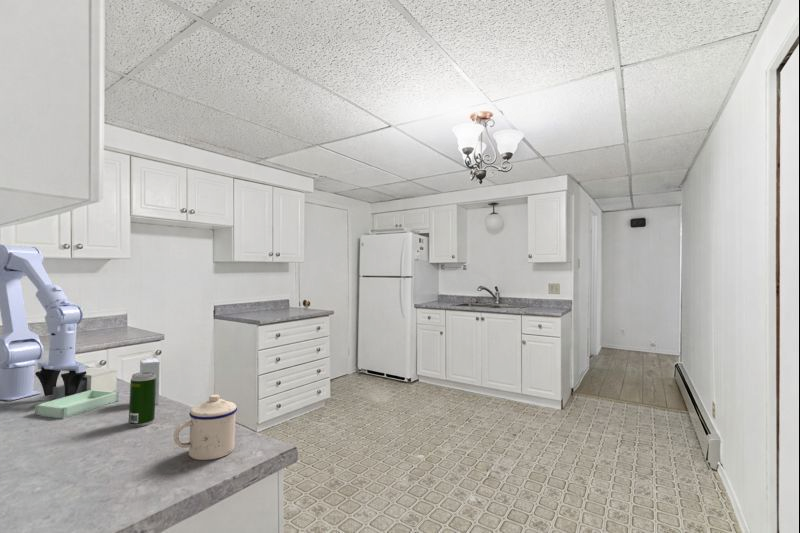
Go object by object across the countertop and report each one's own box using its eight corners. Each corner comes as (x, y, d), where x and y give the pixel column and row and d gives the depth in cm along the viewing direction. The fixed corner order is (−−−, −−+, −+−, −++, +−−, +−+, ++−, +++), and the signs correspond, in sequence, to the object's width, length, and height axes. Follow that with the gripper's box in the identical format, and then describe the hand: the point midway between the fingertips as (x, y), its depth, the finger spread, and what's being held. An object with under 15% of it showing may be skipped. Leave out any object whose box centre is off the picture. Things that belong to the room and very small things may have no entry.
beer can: (146, 427, 94) (148, 377, 95) (123, 427, 94) (125, 376, 94) (158, 419, 100) (161, 371, 100) (137, 419, 99) (139, 371, 100)
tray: (34, 415, 100) (35, 405, 100) (92, 398, 115) (92, 389, 115) (63, 418, 98) (63, 408, 98) (118, 400, 113) (118, 392, 113)
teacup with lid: (224, 439, 89) (227, 387, 89) (242, 452, 83) (245, 396, 83) (165, 455, 80) (168, 397, 81) (180, 471, 74) (183, 408, 74)
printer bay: (64, 394, 117) (65, 372, 117) (91, 387, 125) (92, 367, 125) (90, 397, 115) (91, 375, 115) (116, 390, 123) (117, 369, 123)
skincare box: (159, 404, 111) (161, 361, 111) (140, 407, 108) (142, 363, 109) (156, 399, 116) (158, 357, 116) (137, 401, 113) (140, 359, 113)
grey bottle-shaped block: (48, 402, 110) (49, 384, 111) (87, 391, 121) (87, 375, 121) (60, 404, 109) (61, 386, 110) (98, 393, 120) (99, 376, 120)
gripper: (26, 348, 109) (24, 398, 109) (68, 352, 106) (65, 402, 106) (54, 344, 116) (51, 391, 116) (93, 347, 113) (91, 395, 113)
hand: (59, 396), depth 111 cm, fingers open, 7 cm apart
